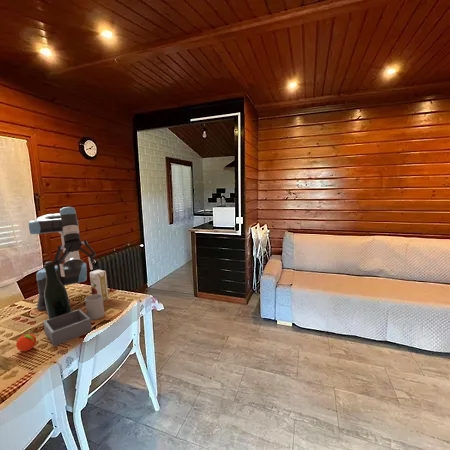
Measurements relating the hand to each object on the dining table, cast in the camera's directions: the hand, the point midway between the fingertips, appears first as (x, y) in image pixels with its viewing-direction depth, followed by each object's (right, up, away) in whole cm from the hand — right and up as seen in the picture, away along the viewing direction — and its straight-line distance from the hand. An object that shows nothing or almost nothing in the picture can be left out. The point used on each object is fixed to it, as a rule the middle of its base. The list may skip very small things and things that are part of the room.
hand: (77, 273), depth 132 cm
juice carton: (-1, -23, +27) cm, 35 cm away
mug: (+6, -25, +8) cm, 27 cm away
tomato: (-9, -30, -22) cm, 38 cm away
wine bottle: (-10, -26, +3) cm, 28 cm away
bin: (+1, -27, -9) cm, 29 cm away
